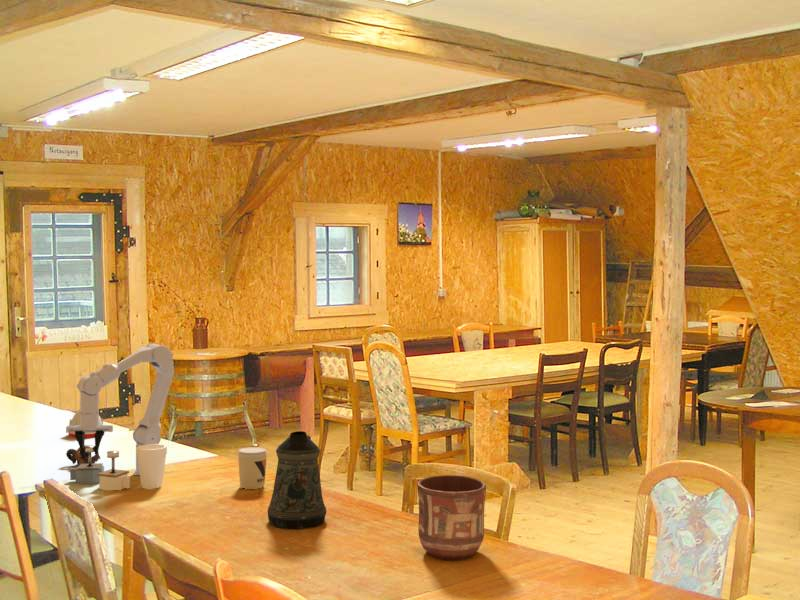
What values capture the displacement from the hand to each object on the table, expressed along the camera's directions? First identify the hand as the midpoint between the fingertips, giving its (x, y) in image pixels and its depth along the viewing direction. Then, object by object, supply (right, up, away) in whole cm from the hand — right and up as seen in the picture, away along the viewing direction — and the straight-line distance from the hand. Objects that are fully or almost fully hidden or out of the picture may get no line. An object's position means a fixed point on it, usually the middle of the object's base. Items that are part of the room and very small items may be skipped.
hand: (89, 453), depth 313 cm
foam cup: (+22, -10, -7) cm, 25 cm away
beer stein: (+73, -12, -43) cm, 85 cm away
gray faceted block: (0, -9, 0) cm, 9 cm away
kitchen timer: (-27, -5, +78) cm, 83 cm away
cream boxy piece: (+10, -10, -8) cm, 16 cm away
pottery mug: (-10, -8, +22) cm, 26 cm away
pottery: (+115, -14, -71) cm, 136 cm away
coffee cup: (+54, -10, -5) cm, 55 cm away
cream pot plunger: (+10, -5, -9) cm, 14 cm away
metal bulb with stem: (0, -5, 0) cm, 5 cm away
